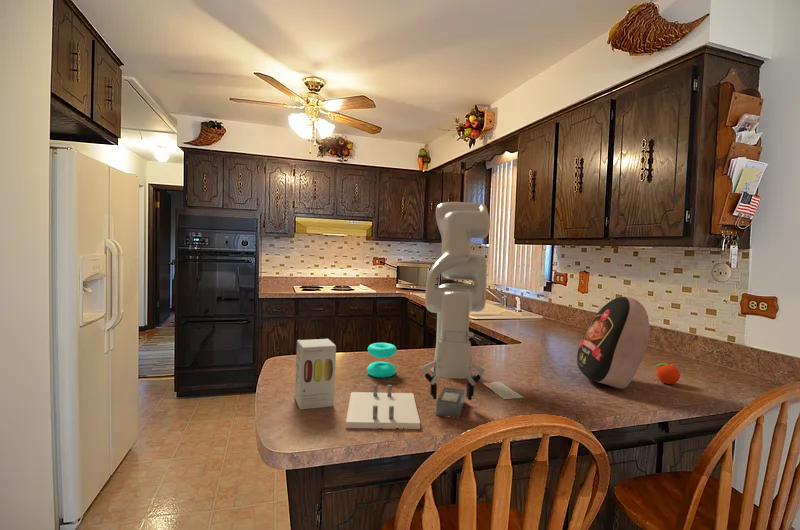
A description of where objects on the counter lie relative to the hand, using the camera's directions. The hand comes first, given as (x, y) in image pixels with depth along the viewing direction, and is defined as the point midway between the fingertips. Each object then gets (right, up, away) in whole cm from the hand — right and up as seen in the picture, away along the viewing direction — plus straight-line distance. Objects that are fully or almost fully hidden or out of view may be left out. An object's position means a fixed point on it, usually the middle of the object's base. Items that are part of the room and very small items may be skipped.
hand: (451, 398), depth 113 cm
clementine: (+78, -5, +30) cm, 84 cm away
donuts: (-21, -1, +29) cm, 35 cm away
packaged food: (+57, -4, +28) cm, 64 cm away
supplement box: (-38, -2, +2) cm, 38 cm away
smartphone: (+18, -4, +17) cm, 25 cm away
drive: (0, -3, +1) cm, 4 cm away
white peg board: (-19, -3, -3) cm, 19 cm away
